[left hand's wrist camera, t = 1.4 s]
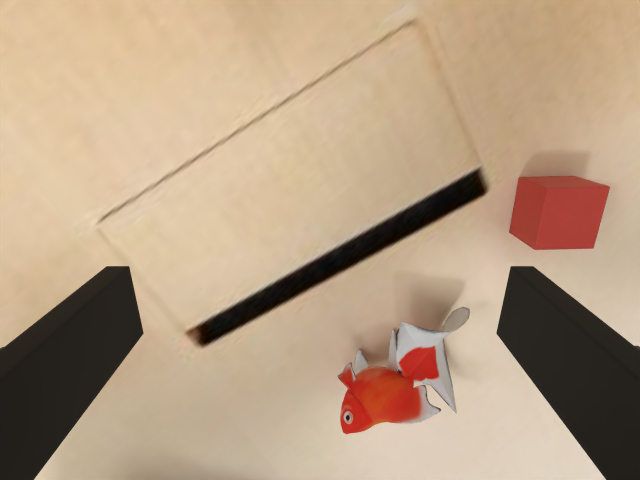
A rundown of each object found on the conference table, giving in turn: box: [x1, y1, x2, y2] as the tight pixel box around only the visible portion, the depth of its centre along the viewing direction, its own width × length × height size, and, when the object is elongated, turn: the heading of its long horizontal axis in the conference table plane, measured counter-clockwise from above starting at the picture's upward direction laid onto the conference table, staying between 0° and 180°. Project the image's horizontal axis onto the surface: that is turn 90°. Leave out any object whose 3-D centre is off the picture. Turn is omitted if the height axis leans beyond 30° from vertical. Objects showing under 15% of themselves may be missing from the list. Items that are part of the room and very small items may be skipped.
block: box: [510, 176, 610, 250], centre depth 30 cm, size 5×5×4 cm
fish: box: [338, 307, 470, 434], centre depth 33 cm, size 11×16×10 cm
